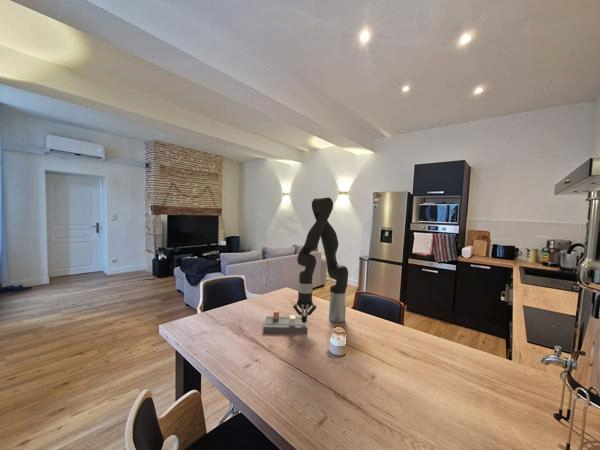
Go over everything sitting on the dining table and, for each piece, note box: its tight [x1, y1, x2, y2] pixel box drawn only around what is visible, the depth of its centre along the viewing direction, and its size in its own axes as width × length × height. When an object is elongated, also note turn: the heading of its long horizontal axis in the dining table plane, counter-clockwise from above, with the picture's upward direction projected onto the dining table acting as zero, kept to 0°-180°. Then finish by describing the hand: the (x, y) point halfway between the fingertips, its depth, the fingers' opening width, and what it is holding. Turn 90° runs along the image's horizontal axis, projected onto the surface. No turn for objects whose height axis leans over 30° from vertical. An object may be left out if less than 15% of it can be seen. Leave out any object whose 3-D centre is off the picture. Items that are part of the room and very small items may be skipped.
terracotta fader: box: [273, 308, 280, 319], centre depth 142 cm, size 3×4×4 cm
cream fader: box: [289, 314, 296, 326], centre depth 134 cm, size 3×4×4 cm
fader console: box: [263, 315, 308, 334], centre depth 138 cm, size 23×14×3 cm, turn 93°
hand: (304, 322), depth 135 cm, fingers closed
